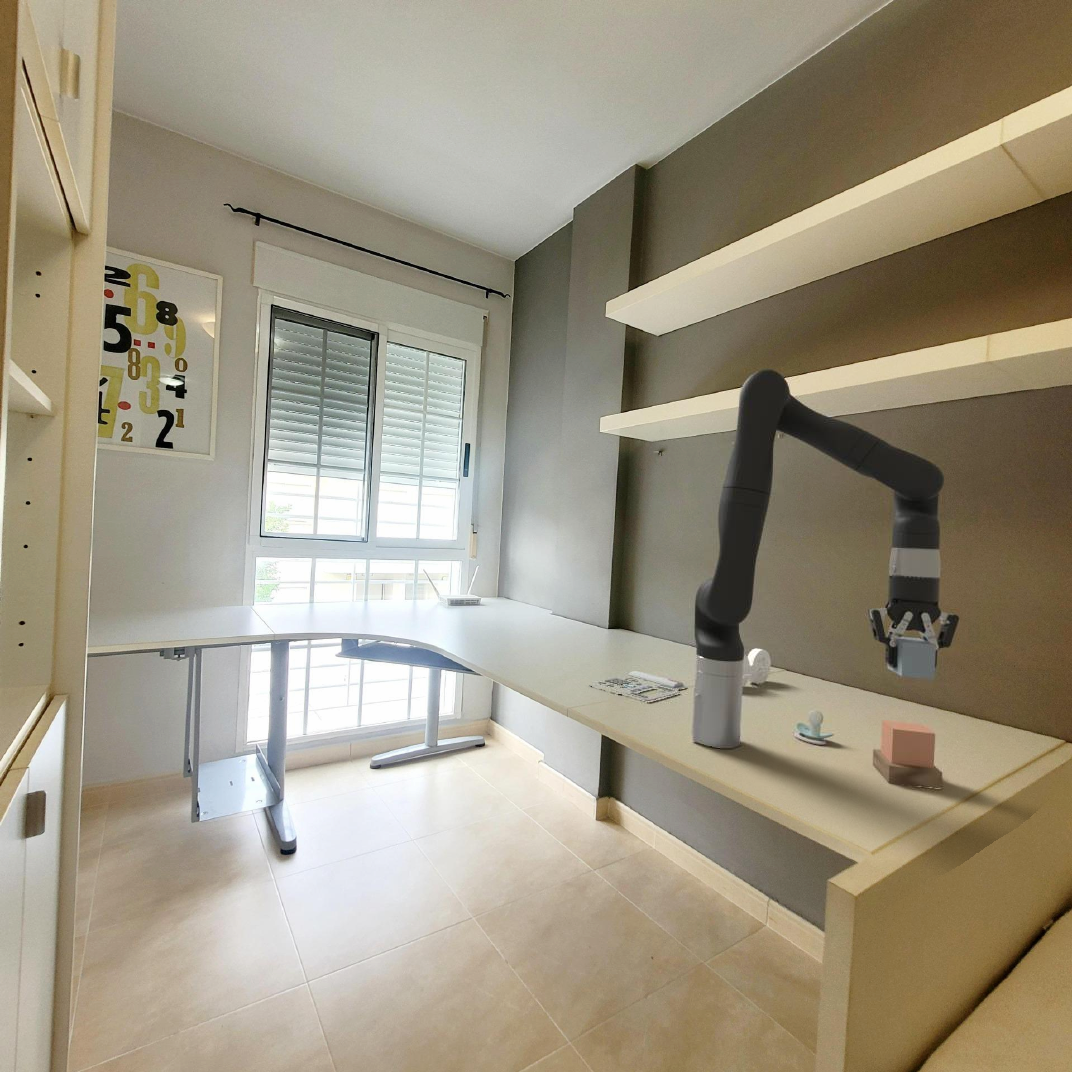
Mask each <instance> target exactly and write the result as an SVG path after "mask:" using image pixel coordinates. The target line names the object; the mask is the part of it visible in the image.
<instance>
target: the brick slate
mask: <svg viewBox="0 0 1072 1072" xmlns="http://www.w3.org/2000/svg"><path fill="white" fill-rule="evenodd" d="M896 647H897V648H898V656H897V668H892V667H890V666H889V664H888V663H887V669H888V670H889V671H892V672H893V673H894V674H897V675H898V676H900V677H902V678H913V679H915V678H916V679H925V680H935V674H936V672H935V671H936V668H935V652H936V645H935V644H932V643H929V642H927V641H924V640H923V638H919V637H909V636H907V637H906V636H905V637H904V636H901V638H900V640H898V644H897V646H896Z"/></svg>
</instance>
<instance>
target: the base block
mask: <svg viewBox="0 0 1072 1072" xmlns="http://www.w3.org/2000/svg"><path fill="white" fill-rule="evenodd" d="M872 766H873V767H874V768H875V770H876V771H877V772H879V773H878V774H880V775H881V776H882V777H883V778H884V779H885V781H886V782H887V783H888V784H894V785H901V784H904V785H903V786H908V785H910V786H909V787H915V786H921V787H920V788H922V787H932V788H942V789H943V772H942V771H941V770H940V769H939V768H938V767H936V765H934V768H928V767H920V766H912V765H904V764H896V763H891V762H890V761H889V760H888V759H887V758H886V757H885V756H884V755H883V754H882V753H881V749H877V748H873V750H872Z"/></svg>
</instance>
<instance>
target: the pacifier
mask: <svg viewBox="0 0 1072 1072" xmlns="http://www.w3.org/2000/svg"><path fill="white" fill-rule="evenodd" d="M808 721H809V723H810V725H807V724H805V723H802V722H799V723H797V724H796V729H797V731H798V732H795V733H793V734H794V735H793V736H795V737H796V738H797V739H799V740H801V741H803V742H806V743H809V744H814V745H819V746H820V745H822V746H823V745H826V744H827V742H826V740H825V739H827V738H830V737H833V736H834V735H835V733H821V724H823V722H824V715H823V713H822V712H821V711H820V710H818V709H813V710H810V711H809V713H808Z"/></svg>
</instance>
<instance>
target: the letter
mask: <svg viewBox="0 0 1072 1072" xmlns="http://www.w3.org/2000/svg"><path fill="white" fill-rule="evenodd" d="M771 662H772V661H771V656H770V654H769V652H768V651H767V650H765V649H762V648H753V649H751V651H750V652H749V653H748V655H746V654H745V653H744V665H743V688H744V687H745V686H746V685H747V683H748V682H750V683H752V684H756V685H760V684H759V683H763V684H764V683H765V682H766V681H767V679H768V677H769V675H770V672H771Z"/></svg>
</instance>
